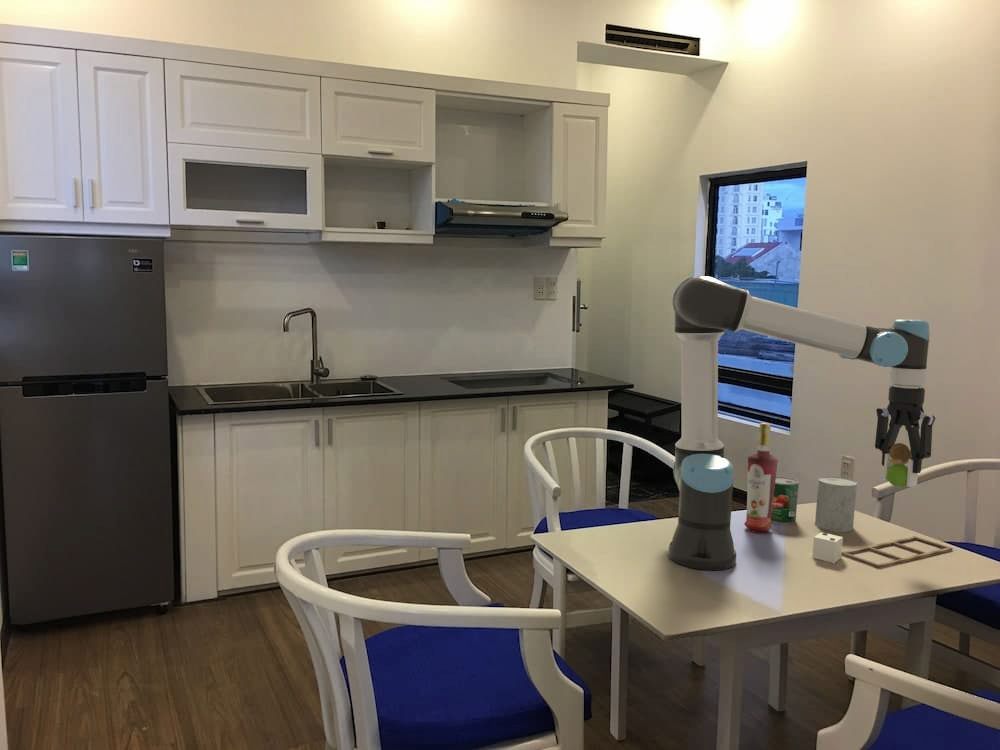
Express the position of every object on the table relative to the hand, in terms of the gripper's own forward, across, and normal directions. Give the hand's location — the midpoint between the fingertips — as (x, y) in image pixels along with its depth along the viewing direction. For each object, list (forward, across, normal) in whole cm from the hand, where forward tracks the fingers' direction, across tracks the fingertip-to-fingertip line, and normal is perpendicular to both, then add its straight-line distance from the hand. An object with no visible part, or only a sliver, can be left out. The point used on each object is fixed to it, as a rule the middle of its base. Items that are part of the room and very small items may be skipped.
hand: (899, 482), depth 191 cm
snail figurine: (+1, 0, 0) cm, 1 cm away
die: (+17, +5, +17) cm, 25 cm away
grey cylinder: (+18, +22, -6) cm, 29 cm away
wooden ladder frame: (+18, +1, -2) cm, 18 cm away
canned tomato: (+18, +32, +4) cm, 36 cm away
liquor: (+17, +27, +17) cm, 36 cm away
